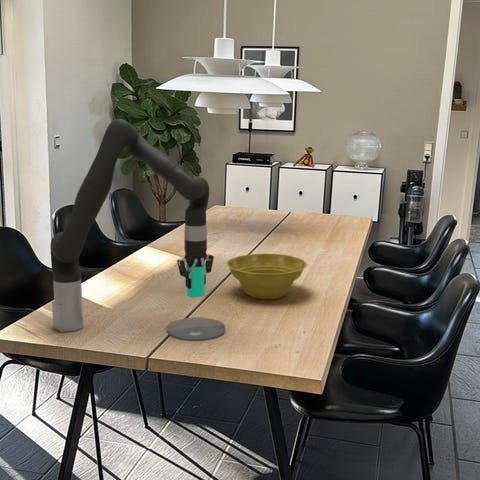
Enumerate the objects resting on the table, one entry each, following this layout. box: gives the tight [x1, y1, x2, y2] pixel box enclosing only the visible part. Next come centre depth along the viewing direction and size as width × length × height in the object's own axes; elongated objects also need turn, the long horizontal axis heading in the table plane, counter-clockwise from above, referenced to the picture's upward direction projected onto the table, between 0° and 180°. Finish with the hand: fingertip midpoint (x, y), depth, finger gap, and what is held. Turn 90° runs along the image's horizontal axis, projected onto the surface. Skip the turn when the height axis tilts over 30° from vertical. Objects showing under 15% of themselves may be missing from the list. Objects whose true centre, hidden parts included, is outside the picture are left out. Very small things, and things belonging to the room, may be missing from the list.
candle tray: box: [166, 317, 226, 342], centre depth 230 cm, size 20×20×1 cm
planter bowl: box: [226, 253, 308, 300], centre depth 271 cm, size 32×32×13 cm
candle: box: [186, 266, 205, 298], centre depth 227 cm, size 6×6×12 cm
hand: (195, 286), depth 227 cm, fingers closed on candle, 4 cm apart
